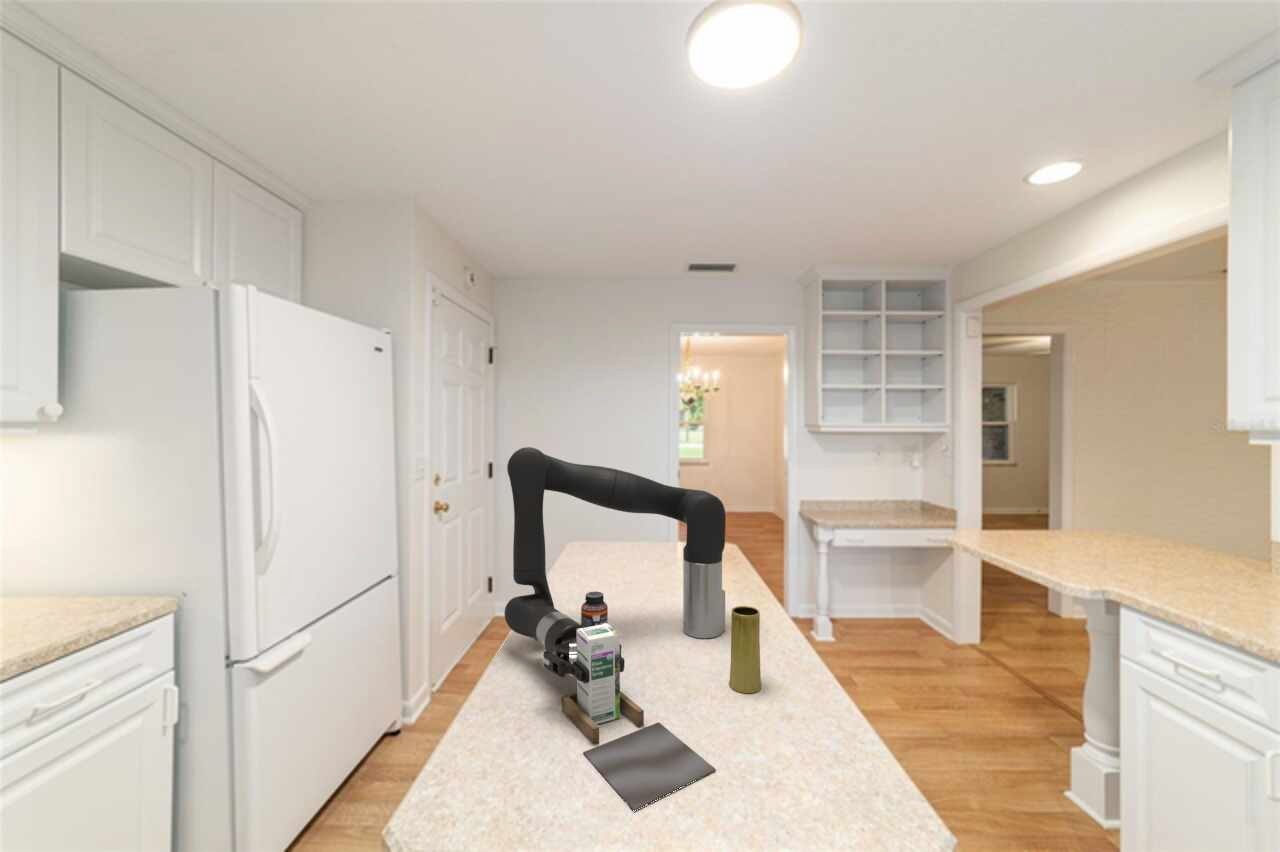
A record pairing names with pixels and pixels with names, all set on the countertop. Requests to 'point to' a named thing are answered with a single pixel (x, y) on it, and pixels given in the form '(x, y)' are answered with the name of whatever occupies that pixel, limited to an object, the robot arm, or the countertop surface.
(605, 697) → the syrup box
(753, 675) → the vase
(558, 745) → the countertop surface
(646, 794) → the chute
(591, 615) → the supplement bottle
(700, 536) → the robot arm
